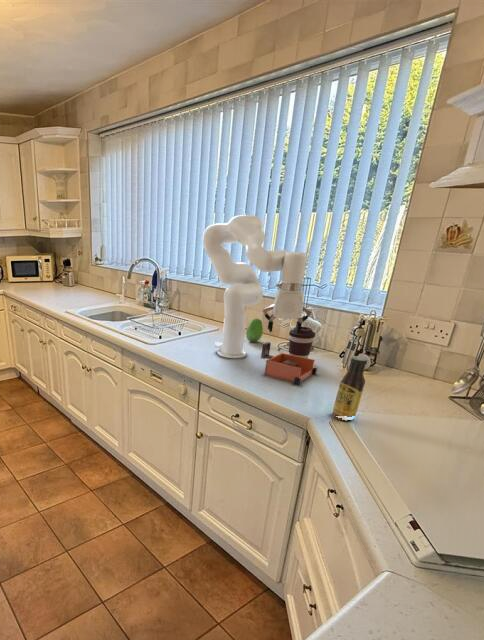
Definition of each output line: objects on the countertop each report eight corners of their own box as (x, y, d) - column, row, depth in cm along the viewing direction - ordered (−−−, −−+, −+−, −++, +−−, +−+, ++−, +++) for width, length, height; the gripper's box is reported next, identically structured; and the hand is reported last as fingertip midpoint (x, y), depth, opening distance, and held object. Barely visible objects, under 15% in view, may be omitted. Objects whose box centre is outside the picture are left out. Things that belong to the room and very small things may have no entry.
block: (280, 373, 156) (282, 362, 154) (285, 370, 158) (287, 359, 157) (292, 376, 153) (293, 365, 151) (296, 373, 155) (298, 362, 154)
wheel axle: (293, 384, 147) (294, 377, 146) (310, 373, 157) (312, 367, 156) (298, 386, 146) (300, 379, 145) (316, 374, 156) (317, 368, 155)
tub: (253, 372, 159) (257, 346, 155) (269, 364, 168) (272, 339, 163) (297, 383, 147) (302, 355, 143) (312, 374, 156) (316, 348, 151)
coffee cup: (286, 365, 167) (292, 330, 161) (283, 357, 176) (288, 325, 170) (312, 366, 164) (318, 331, 159) (307, 359, 173) (313, 326, 168)
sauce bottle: (327, 415, 124) (340, 355, 116) (341, 411, 126) (355, 352, 118) (345, 424, 118) (360, 362, 110) (360, 420, 120) (376, 359, 112)
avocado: (262, 344, 195) (265, 320, 191) (245, 343, 197) (248, 319, 192) (260, 339, 202) (263, 316, 198) (244, 339, 204) (247, 316, 200)
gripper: (267, 288, 144) (260, 333, 151) (318, 289, 141) (309, 335, 147) (265, 284, 151) (259, 328, 158) (313, 286, 147) (305, 330, 154)
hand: (283, 331), depth 153 cm, fingers open, 9 cm apart
